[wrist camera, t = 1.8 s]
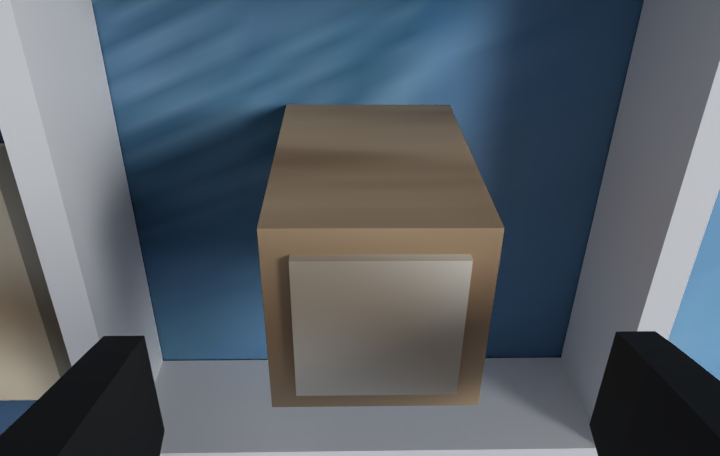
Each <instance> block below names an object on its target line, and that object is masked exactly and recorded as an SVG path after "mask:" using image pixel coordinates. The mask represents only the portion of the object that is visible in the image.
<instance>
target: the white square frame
mask: <svg viewBox="0 0 720 456" xmlns="http://www.w3.org/2000/svg"><path fill="white" fill-rule="evenodd" d="M0 130H1V133H2V136H3V140H4V143H5V146H6V150H7V153H8V156H9V160H10V163H11V166H12V170H13V173H14V176H15V180H16V183H17V186H18V190H19V193H20V196H21V200H22V203H23V206H24V210H25V213H26V216H27V220H28V223H29V226H30V230H31V233H32V236H33V240H34V243H35V246H36V250H37V253H38V256H39V260H40V263H41V266H42V270H43V273H44V276H45V280H46V283H47V286H48V290H49V293H50V296H51V300H52V303H53V306H54V310H55V313H56V316H57V320H58V323H59V326H60V330H61V333H62V336H63V340H64V343H65V346H66V350H67V353H68V356H69V360H70V363H71V366H73V365H74V364H75V363H76V362H77V361H78V360H79V359H80V358H81V357H82V356H83V355H84V354H85V353H86V352H87V351H88V350H89V349H90V348H92V347H93V346H94V345H95V344H96V343H97V342H98V341H99V340H100V339H101V338H102V337H103V336H145V341H146V346H147V350H148V355H149V360H150V364H151V369H152V374H153V378H154V383H155V387H156V392H157V397H158V401H159V406H160V411H161V415H162V420H163V425H164V429H165V431H164V437H163V442H162V447H161V452H160V456H598V454H597V450H596V447H595V443H594V440H593V436H592V433H591V429H590V426H589V424H590V420H591V417H592V413H593V410H594V406H595V403H596V399H597V396H598V392H599V389H600V386H601V382H602V379H603V375H604V372H605V368H606V365H607V361H608V358H609V354H610V351H611V347H612V344H613V340H614V337H615V333H616V332H622V331H655V332H657V333H658V334H660V335H661V336H662V337H664V338H665V339H667V340H668V338H669V335H670V332H671V329H672V326H673V323H674V321H675V318H676V315H677V312H678V309H679V306H680V303H681V300H682V297H683V294H684V291H685V288H686V285H687V282H688V280H689V277H690V274H691V271H692V268H693V265H694V262H695V259H696V256H697V253H698V250H699V247H700V244H701V241H702V239H703V236H704V233H705V230H706V227H707V224H708V221H709V218H710V215H711V212H712V209H713V206H714V203H715V200H716V198H717V195H718V192H719V189H720V0H644V2H643V6H642V11H641V15H640V19H639V24H638V28H637V32H636V37H635V41H634V45H633V49H632V54H631V58H630V62H629V67H628V71H627V75H626V80H625V84H624V88H623V92H622V97H621V101H620V105H619V110H618V114H617V118H616V123H615V127H614V131H613V136H612V140H611V144H610V148H609V153H608V157H607V161H606V166H605V170H604V174H603V179H602V183H601V187H600V192H599V196H598V200H597V204H596V209H595V213H594V217H593V222H592V226H591V230H590V235H589V239H588V243H587V248H586V252H585V256H584V260H583V265H582V269H581V273H580V278H579V282H578V286H577V291H576V295H575V299H574V303H573V308H572V312H571V316H570V321H569V325H568V329H567V334H566V338H565V342H564V347H563V351H562V355H561V358H485V362H484V369H483V375H482V382H481V389H480V395H479V402H478V405H449V406H347V407H272V401H271V389H270V377H269V365H268V360H193V361H163V358H162V353H161V348H160V343H159V338H158V333H157V328H156V323H155V318H154V313H153V308H152V303H151V298H150V293H149V288H148V283H147V278H146V273H145V268H144V263H143V258H142V253H141V248H140V243H139V238H138V233H137V228H136V223H135V218H134V213H133V208H132V203H131V198H130V193H129V188H128V183H127V178H126V173H125V168H124V163H123V158H122V153H121V148H120V143H119V138H118V133H117V127H116V122H115V117H114V112H113V107H112V102H111V97H110V92H109V87H108V82H107V77H106V72H105V67H104V62H103V57H102V52H101V47H100V42H99V37H98V32H97V27H96V22H95V17H94V12H93V7H92V2H91V0H0Z"/></svg>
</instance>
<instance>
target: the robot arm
mask: <svg viewBox="0 0 720 456" xmlns="http://www.w3.org/2000/svg"><path fill="white" fill-rule="evenodd" d="M589 426H590V429H591V433H592V436H593V440H594V443H595V447H596V450H597V454H598V456H720V381H719V380H718V379H716V378H715V377H714V376H713V375H711V374H710V373H709V372H708V371H706V370H705V369H704V368H703V367H701V366H700V365H699V364H698V363H696V362H695V361H694V360H693V359H691V358H690V357H689V356H687V355H686V354H685V353H684V352H682V351H681V350H680V349H678V348H677V347H676V346H675V345H673V344H672V343H671V342H669V341H668V340H667V339H665V338H664V337H662V336H661V335H660V334H658V333H657V332H655V331H622V332H616V333H615V337H614V340H613V344H612V347H611V351H610V354H609V358H608V361H607V365H606V368H605V372H604V375H603V379H602V382H601V386H600V389H599V392H598V396H597V399H596V403H595V406H594V410H593V413H592V417H591V420H590V424H589ZM164 431H165V429H164V425H163V420H162V415H161V411H160V406H159V401H158V397H157V392H156V387H155V383H154V378H153V374H152V369H151V364H150V360H149V355H148V350H147V346H146V341H145V336H103V337H102V338H101V339H100V340H99V341H98V342H97V343H96V344H95V345H94V346H93V347H92V348H90V349H89V350H88V351H87V352H86V353H85V354H84V355H83V356H82V357H81V358H80V359H79V360H78V361H77V362H76V363H75V364H74V365H73V366H72V367H71V368H70V369H69V370H68V371H67V372H66V373H65V374H64V375H63V376H62V377H61V378H60V379H59V380H58V381H57V382H56V383H55V384H54V385H53V386H52V387H50V388H49V389H48V390H47V391H46V392H45V393H44V394H43V395H42V396H41V397H40V398H39V399H38V400H37V401H36V402H35V403H34V404H33V405H32V406H31V407H30V408H29V409H28V410H27V411H26V412H25V413H24V414H23V415H22V416H20V417H19V418H18V419H17V420H16V421H15V422H14V423H13V424H12V425H11V426H10V427H9V428H8V429H7V430H6V431H5V432H4V433H2V434H1V435H0V456H160V452H161V447H162V442H163V437H164Z"/></svg>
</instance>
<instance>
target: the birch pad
mask: <svg viewBox="0 0 720 456" xmlns="http://www.w3.org/2000/svg"><path fill="white" fill-rule="evenodd" d="M71 367H72V366H71V363H70V360H69V356H68V353H67V350H66V346H65V343H64V340H63V336H62V333H61V330H60V326H59V323H58V320H57V316H56V313H55V310H54V306H53V303H52V300H51V296H50V293H49V290H48V286H47V283H46V280H45V276H44V273H43V270H42V266H41V263H40V260H39V256H38V253H37V250H36V246H35V243H34V240H33V236H32V233H31V230H30V226H29V223H28V220H27V216H26V213H25V210H24V206H23V203H22V200H21V196H20V193H19V190H18V186H17V183H16V180H15V176H14V173H13V170H12V166H11V163H10V160H9V156H8V153H7V150H6V146H5V143H0V400H38V399H39V398H40V397H41V396H42V395H43V394H44V393H45V392H46V391H47V390H48V389H49V388H50V387H52V386H53V385H54V384H55V383H56V382H57V381H58V380H59V379H60V378H61V377H62V376H63V375H64V374H65V373H66V372H67V371H68V370H69V369H70V368H71Z"/></svg>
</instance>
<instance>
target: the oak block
mask: <svg viewBox="0 0 720 456" xmlns="http://www.w3.org/2000/svg"><path fill="white" fill-rule="evenodd" d="M504 229H505V228H504V225H503V223H502V221H501V219H500V217H499V214H498V212H497V210H496V208H495V205H494V203H493V201H492V199H491V196H490V194H489V192H488V190H487V187H486V185H485V183H484V181H483V179H482V176H481V174H480V172H479V170H478V167H477V165H476V163H475V161H474V158H473V156H472V154H471V152H470V149H469V147H468V145H467V143H466V141H465V138H464V136H463V134H462V132H461V129H460V127H459V125H458V123H457V120H456V118H455V116H454V114H453V111H452V109H451V107H450V105H286V109H285V113H284V117H283V121H282V125H281V130H280V134H279V138H278V142H277V146H276V151H275V155H274V159H273V163H272V167H271V171H270V176H269V180H268V184H267V188H266V192H265V197H264V201H263V205H262V209H261V213H260V218H259V222H258V226H257V236H258V248H259V260H260V271H261V283H262V295H263V307H264V318H265V330H266V342H267V354H268V365H269V377H270V389H271V401H272V407H347V406H449V405H478V402H479V395H480V389H481V382H482V375H483V369H484V362H485V356H486V349H487V342H488V336H489V329H490V322H491V316H492V309H493V302H494V296H495V289H496V282H497V276H498V269H499V262H500V256H501V249H502V242H503V236H504Z"/></svg>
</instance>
